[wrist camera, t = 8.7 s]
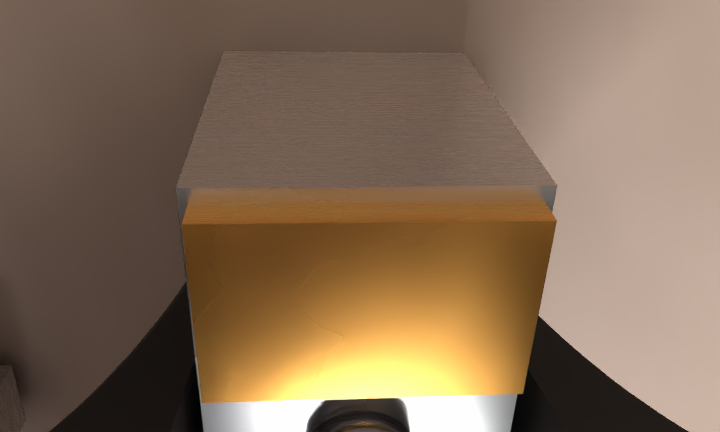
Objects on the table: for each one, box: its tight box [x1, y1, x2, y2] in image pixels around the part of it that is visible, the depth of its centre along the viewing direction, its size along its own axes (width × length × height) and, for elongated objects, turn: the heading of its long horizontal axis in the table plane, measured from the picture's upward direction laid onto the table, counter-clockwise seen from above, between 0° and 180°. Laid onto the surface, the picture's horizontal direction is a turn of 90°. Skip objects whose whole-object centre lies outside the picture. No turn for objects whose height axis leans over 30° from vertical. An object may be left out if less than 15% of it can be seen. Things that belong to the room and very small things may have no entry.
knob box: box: [176, 51, 557, 432], centre depth 12 cm, size 10×4×5 cm, turn 178°
